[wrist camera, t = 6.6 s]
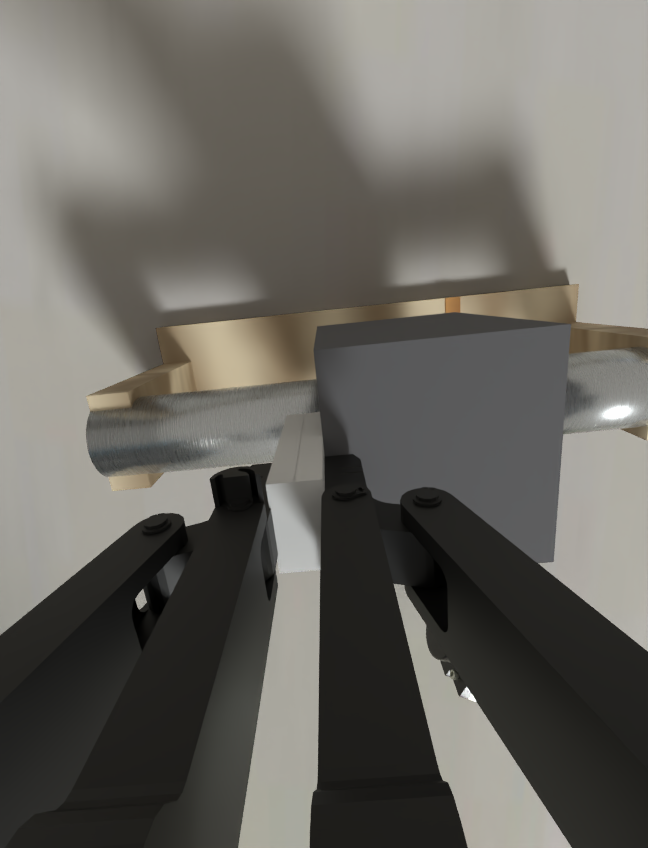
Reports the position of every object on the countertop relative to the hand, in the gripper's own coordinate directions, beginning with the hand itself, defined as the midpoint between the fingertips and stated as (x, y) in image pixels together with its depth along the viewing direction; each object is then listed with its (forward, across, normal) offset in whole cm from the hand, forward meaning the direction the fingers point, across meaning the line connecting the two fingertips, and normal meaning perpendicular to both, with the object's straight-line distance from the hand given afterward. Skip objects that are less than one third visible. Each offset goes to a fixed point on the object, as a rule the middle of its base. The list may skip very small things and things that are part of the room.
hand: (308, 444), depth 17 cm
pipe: (+6, +4, 0) cm, 7 cm away
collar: (+8, +5, 0) cm, 10 cm away
